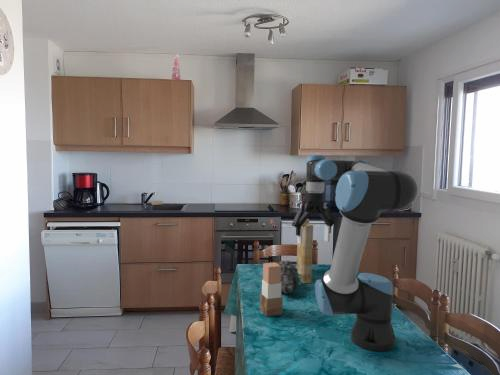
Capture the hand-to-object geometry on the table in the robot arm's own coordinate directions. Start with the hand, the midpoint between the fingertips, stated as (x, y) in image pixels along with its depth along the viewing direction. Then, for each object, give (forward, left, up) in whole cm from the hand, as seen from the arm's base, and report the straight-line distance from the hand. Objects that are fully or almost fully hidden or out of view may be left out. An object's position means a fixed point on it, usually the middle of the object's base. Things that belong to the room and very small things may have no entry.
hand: (313, 242), depth 159 cm
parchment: (+38, -18, -29) cm, 51 cm away
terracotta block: (+1, +18, -16) cm, 24 cm away
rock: (+22, +2, -29) cm, 36 cm away
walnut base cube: (+1, +18, -29) cm, 34 cm away
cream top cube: (+1, +18, -22) cm, 28 cm away
